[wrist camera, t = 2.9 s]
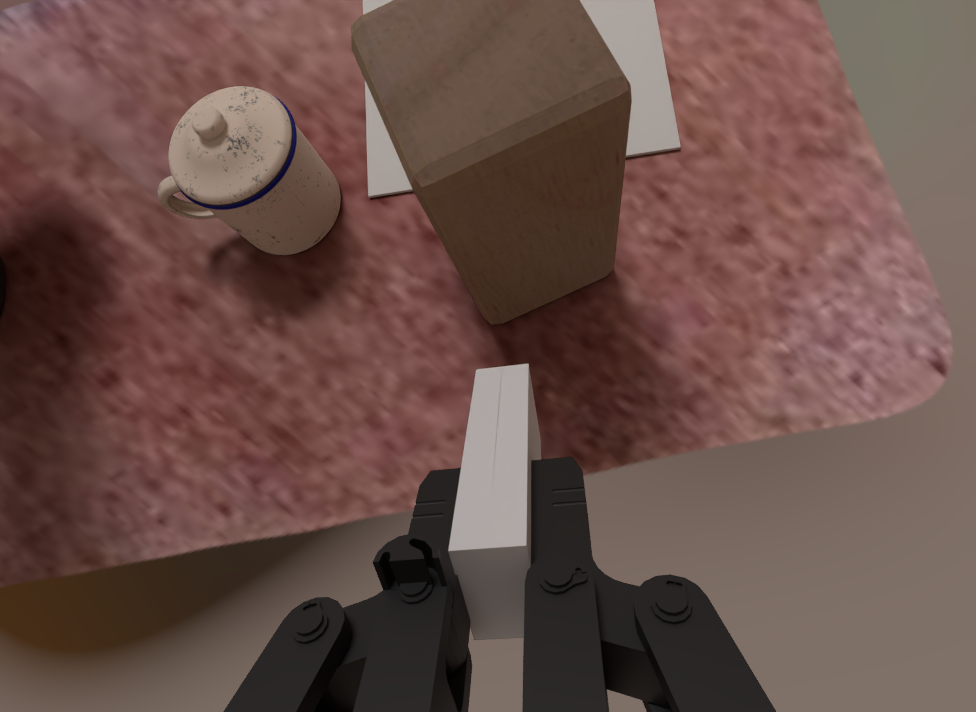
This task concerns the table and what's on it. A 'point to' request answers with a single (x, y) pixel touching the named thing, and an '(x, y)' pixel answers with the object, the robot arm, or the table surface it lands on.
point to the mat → (638, 51)
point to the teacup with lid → (251, 172)
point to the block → (505, 138)
